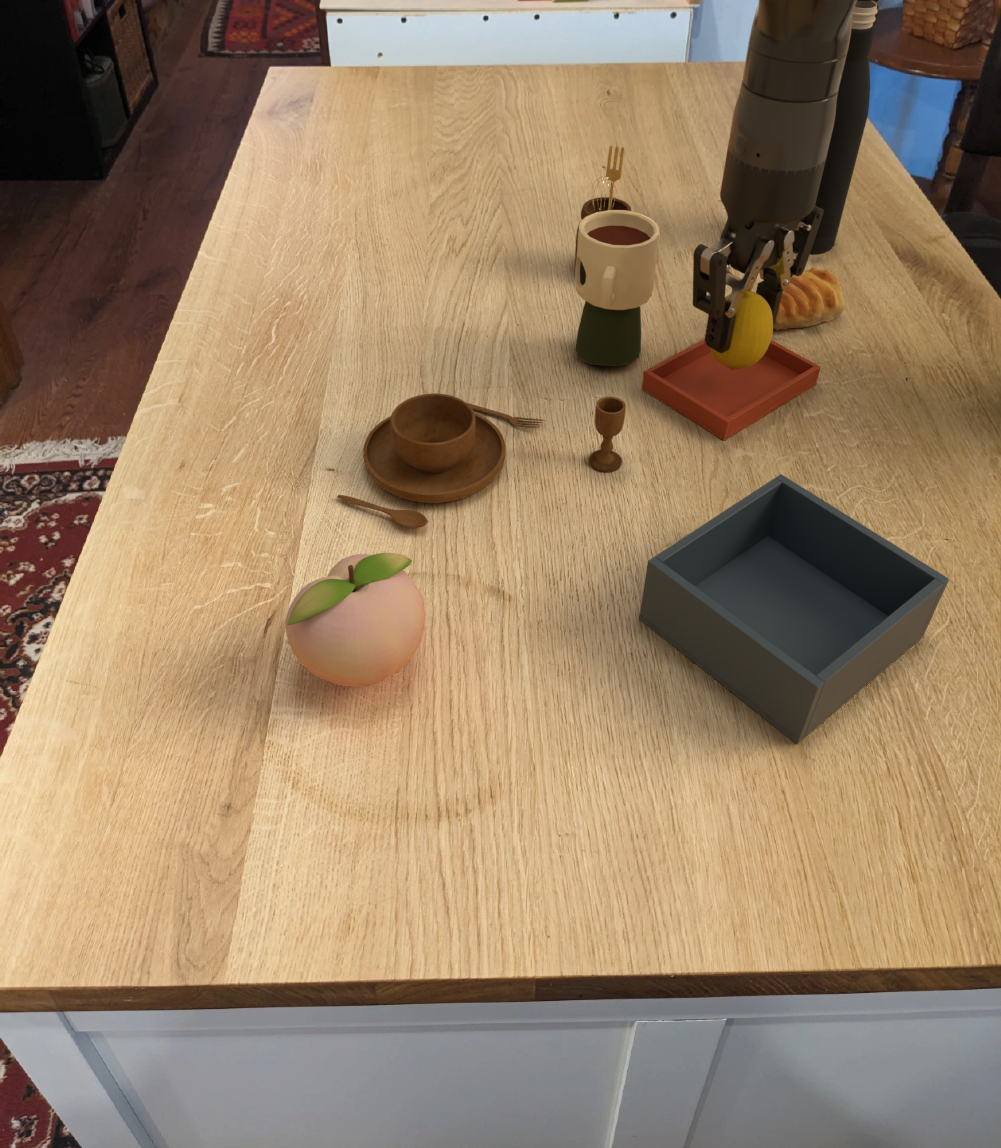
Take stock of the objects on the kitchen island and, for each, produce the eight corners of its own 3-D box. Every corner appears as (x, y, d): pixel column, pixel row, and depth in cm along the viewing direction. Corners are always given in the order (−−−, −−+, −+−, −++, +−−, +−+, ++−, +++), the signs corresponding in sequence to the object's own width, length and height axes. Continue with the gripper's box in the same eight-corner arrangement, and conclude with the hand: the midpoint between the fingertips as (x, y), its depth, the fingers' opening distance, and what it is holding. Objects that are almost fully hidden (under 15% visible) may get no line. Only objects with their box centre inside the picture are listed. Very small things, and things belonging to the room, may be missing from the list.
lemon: (757, 392, 90) (775, 313, 85) (696, 379, 92) (709, 300, 86) (768, 359, 94) (786, 281, 88) (709, 347, 95) (723, 269, 90)
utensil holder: (568, 280, 108) (574, 168, 99) (581, 251, 112) (588, 142, 103) (623, 288, 107) (634, 176, 98) (634, 259, 111) (646, 149, 102)
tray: (733, 339, 100) (737, 321, 98) (816, 384, 95) (821, 366, 93) (641, 389, 94) (643, 370, 93) (723, 440, 89) (727, 422, 87)
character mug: (581, 320, 102) (589, 195, 93) (651, 330, 101) (667, 204, 92) (559, 381, 95) (567, 252, 85) (635, 392, 94) (651, 263, 84)
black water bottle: (839, 233, 115) (919, -72, 94) (828, 259, 111) (908, -54, 89) (783, 222, 117) (848, -80, 95) (770, 247, 113) (835, -63, 91)
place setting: (428, 389, 94) (425, 334, 90) (629, 453, 87) (636, 397, 83) (319, 500, 83) (310, 443, 79) (539, 583, 76) (542, 526, 72)
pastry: (777, 343, 99) (785, 309, 97) (732, 312, 103) (738, 278, 101) (847, 317, 103) (856, 282, 100) (800, 287, 107) (808, 254, 104)
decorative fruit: (360, 744, 66) (344, 644, 59) (277, 679, 70) (252, 578, 63) (457, 660, 71) (453, 559, 64) (375, 603, 75) (362, 502, 68)
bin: (765, 531, 81) (780, 473, 76) (923, 636, 73) (950, 578, 69) (638, 618, 74) (647, 560, 70) (796, 744, 66) (818, 687, 62)
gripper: (755, 189, 73) (718, 385, 85) (874, 136, 79) (824, 325, 92) (678, 155, 77) (653, 347, 89) (797, 107, 83) (759, 292, 96)
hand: (740, 335), depth 90 cm, fingers closed on lemon, 5 cm apart
